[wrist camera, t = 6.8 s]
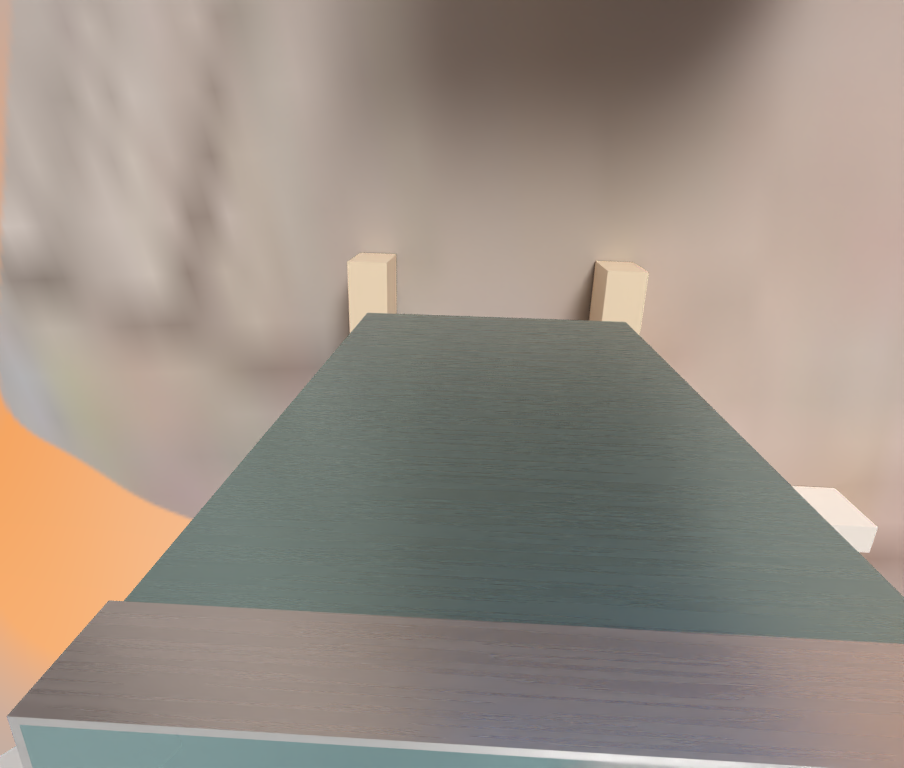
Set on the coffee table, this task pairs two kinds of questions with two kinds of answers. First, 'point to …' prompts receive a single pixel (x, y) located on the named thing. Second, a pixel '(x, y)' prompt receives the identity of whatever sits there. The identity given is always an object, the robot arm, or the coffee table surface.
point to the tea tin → (489, 583)
